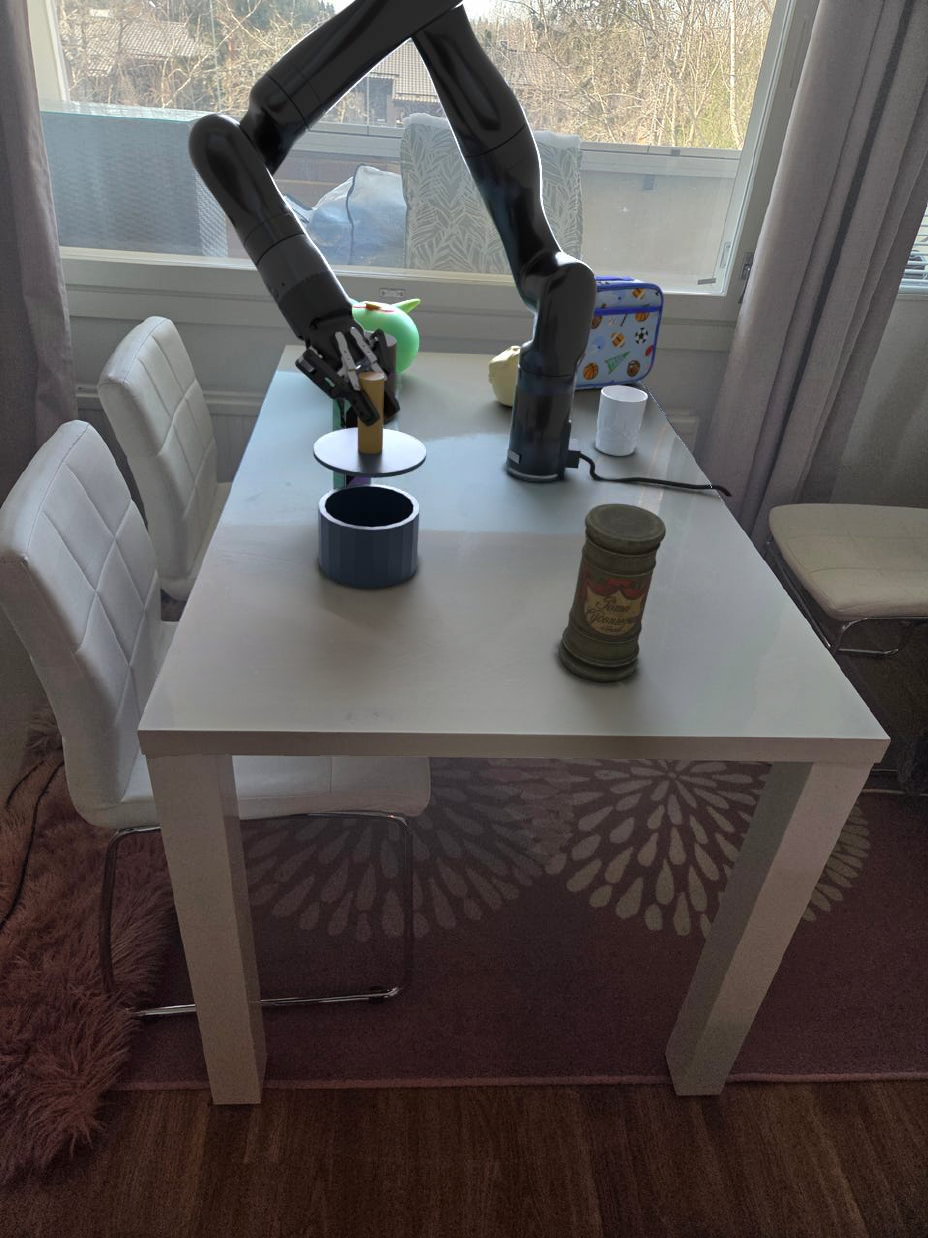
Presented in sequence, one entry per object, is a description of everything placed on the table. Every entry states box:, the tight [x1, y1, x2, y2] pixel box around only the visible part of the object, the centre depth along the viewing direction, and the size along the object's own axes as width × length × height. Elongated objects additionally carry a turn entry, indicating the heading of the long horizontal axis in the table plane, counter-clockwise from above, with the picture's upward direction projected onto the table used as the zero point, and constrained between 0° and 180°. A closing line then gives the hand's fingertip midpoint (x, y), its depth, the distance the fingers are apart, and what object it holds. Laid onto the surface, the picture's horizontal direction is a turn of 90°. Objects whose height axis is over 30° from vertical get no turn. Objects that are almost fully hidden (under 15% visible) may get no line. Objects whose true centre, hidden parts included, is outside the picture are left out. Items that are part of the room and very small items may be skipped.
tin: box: [317, 483, 421, 590], centre depth 110 cm, size 13×13×8 cm
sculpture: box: [487, 345, 521, 407], centre depth 164 cm, size 12×12×11 cm
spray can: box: [331, 379, 372, 490], centre depth 121 cm, size 6×6×20 cm
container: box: [558, 502, 667, 683], centre depth 94 cm, size 9×9×18 cm
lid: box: [312, 372, 427, 479], centre depth 102 cm, size 14×14×10 cm
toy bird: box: [349, 297, 421, 375], centre depth 170 cm, size 18×17×15 cm
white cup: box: [595, 385, 649, 457], centre depth 149 cm, size 8×8×10 cm
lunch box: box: [531, 275, 665, 391], centre depth 173 cm, size 28×10×22 cm, turn 115°
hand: (384, 417), depth 100 cm, fingers closed on lid, 3 cm apart
